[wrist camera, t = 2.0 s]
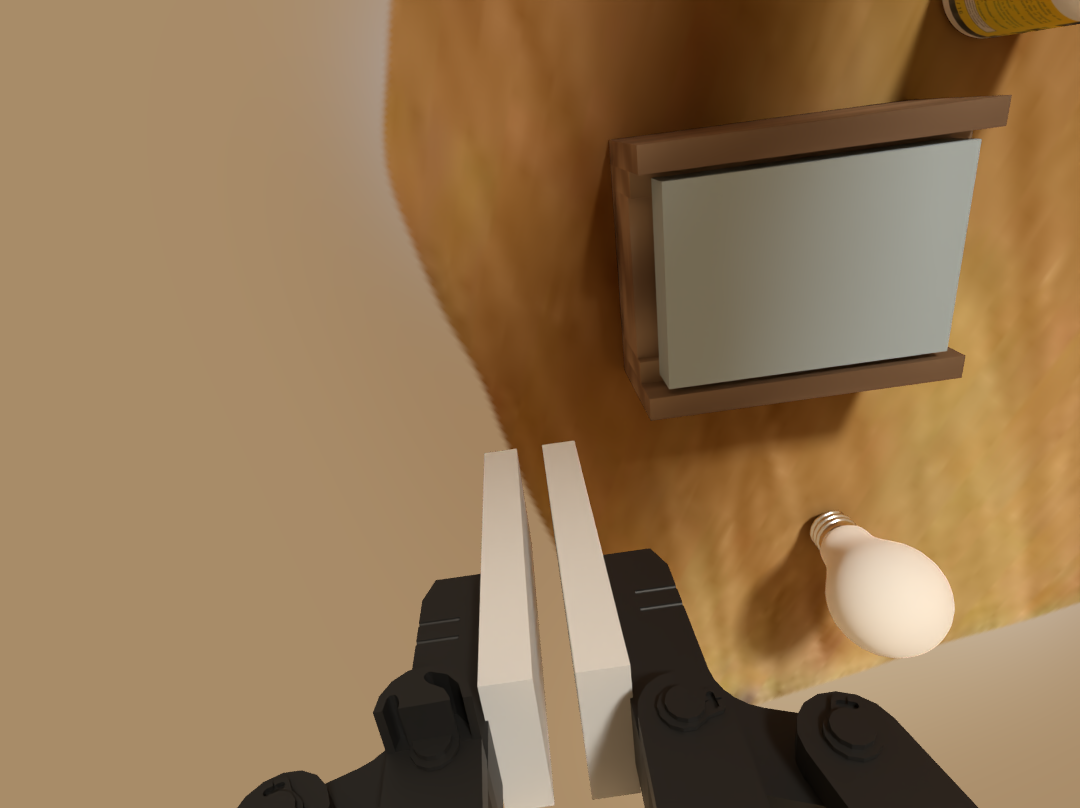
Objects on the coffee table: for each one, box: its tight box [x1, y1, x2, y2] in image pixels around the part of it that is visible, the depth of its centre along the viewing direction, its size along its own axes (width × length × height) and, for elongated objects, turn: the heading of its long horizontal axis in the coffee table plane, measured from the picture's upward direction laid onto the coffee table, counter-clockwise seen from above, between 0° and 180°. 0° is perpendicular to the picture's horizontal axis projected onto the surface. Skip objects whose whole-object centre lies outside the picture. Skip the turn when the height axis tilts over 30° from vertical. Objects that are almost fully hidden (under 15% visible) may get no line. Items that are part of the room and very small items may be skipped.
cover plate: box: [651, 138, 982, 389], centre depth 30 cm, size 10×14×2 cm
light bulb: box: [810, 510, 955, 658], centre depth 39 cm, size 7×7×11 cm
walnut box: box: [609, 95, 1012, 421], centre depth 32 cm, size 13×16×7 cm
